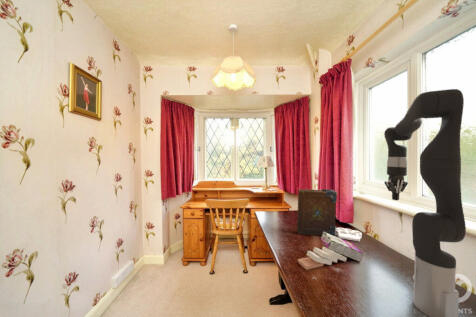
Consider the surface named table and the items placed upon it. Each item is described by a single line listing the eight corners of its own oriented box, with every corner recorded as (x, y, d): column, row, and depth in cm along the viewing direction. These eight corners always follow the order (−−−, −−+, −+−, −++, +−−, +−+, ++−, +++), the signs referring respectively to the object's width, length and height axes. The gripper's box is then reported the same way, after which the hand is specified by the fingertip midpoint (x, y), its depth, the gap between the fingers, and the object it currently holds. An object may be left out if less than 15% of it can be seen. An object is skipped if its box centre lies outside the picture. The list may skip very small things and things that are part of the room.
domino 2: (332, 261, 84) (317, 257, 81) (330, 265, 84) (315, 261, 81) (322, 254, 90) (307, 250, 87) (321, 258, 90) (306, 254, 86)
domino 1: (323, 262, 83) (306, 266, 80) (323, 267, 83) (306, 271, 80) (314, 256, 89) (297, 259, 85) (314, 260, 89) (297, 263, 85)
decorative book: (330, 232, 122) (331, 189, 122) (335, 237, 115) (337, 191, 115) (296, 230, 124) (297, 188, 123) (298, 235, 116) (300, 189, 116)
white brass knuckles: (333, 238, 114) (329, 230, 128) (366, 243, 108) (358, 234, 122) (333, 233, 114) (329, 225, 128) (366, 238, 108) (358, 229, 122)
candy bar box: (349, 251, 98) (320, 239, 100) (352, 243, 97) (323, 231, 100) (360, 263, 87) (327, 248, 89) (364, 253, 86) (330, 239, 89)
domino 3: (346, 257, 87) (332, 251, 84) (345, 261, 87) (331, 255, 84) (336, 251, 93) (323, 246, 90) (335, 255, 92) (321, 249, 90)
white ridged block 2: (338, 258, 86) (324, 253, 82) (336, 262, 85) (322, 257, 82) (327, 252, 91) (314, 247, 88) (326, 256, 91) (313, 250, 88)
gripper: (395, 166, 84) (393, 202, 84) (415, 166, 87) (413, 201, 87) (379, 165, 92) (377, 198, 92) (398, 165, 95) (397, 198, 95)
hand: (395, 199), depth 89 cm, fingers closed
